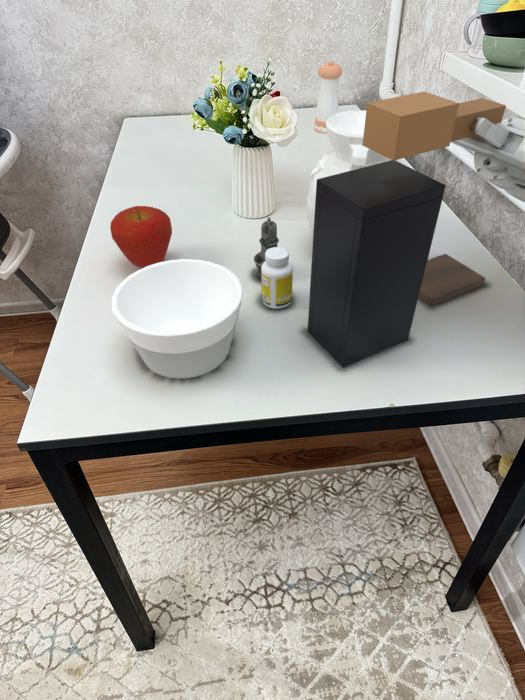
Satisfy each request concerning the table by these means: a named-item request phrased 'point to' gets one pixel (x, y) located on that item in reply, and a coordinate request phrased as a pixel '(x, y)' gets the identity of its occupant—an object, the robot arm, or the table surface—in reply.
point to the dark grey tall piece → (266, 243)
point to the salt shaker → (327, 93)
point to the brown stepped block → (422, 123)
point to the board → (447, 279)
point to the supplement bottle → (277, 278)
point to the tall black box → (369, 257)
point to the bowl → (179, 315)
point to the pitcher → (342, 152)
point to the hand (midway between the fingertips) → (460, 117)
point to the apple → (142, 234)
